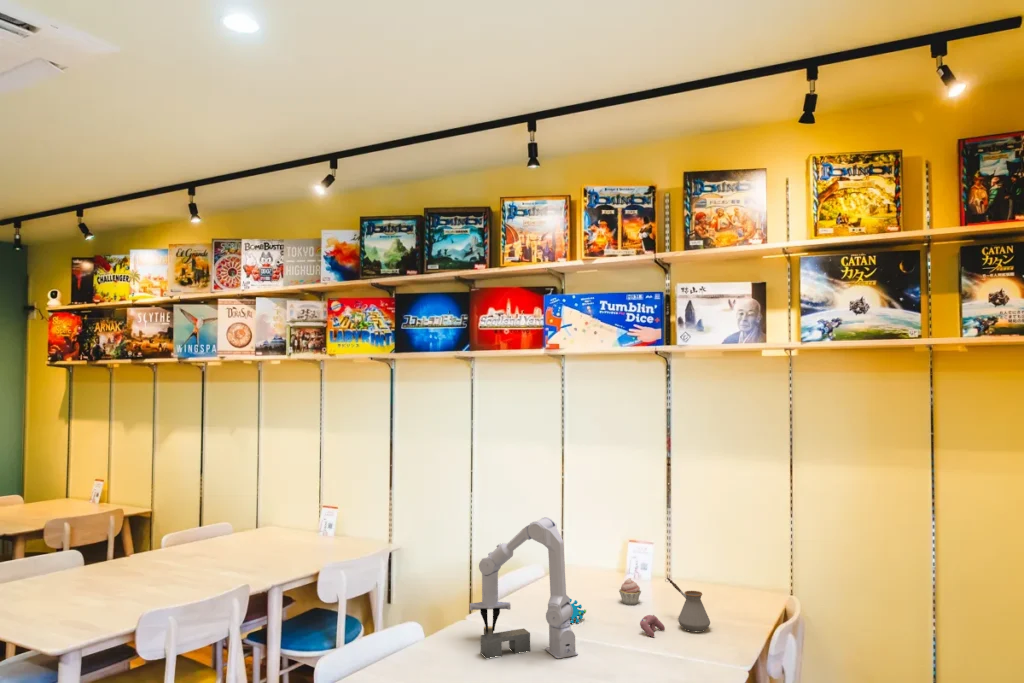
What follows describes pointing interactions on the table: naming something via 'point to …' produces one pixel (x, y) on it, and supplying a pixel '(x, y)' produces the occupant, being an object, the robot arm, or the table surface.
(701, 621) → the coffee pot
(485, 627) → the grey rectangular bar
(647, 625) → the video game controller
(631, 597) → the cupcake
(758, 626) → the table surface
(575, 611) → the spiky virus model
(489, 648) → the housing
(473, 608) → the robot arm
